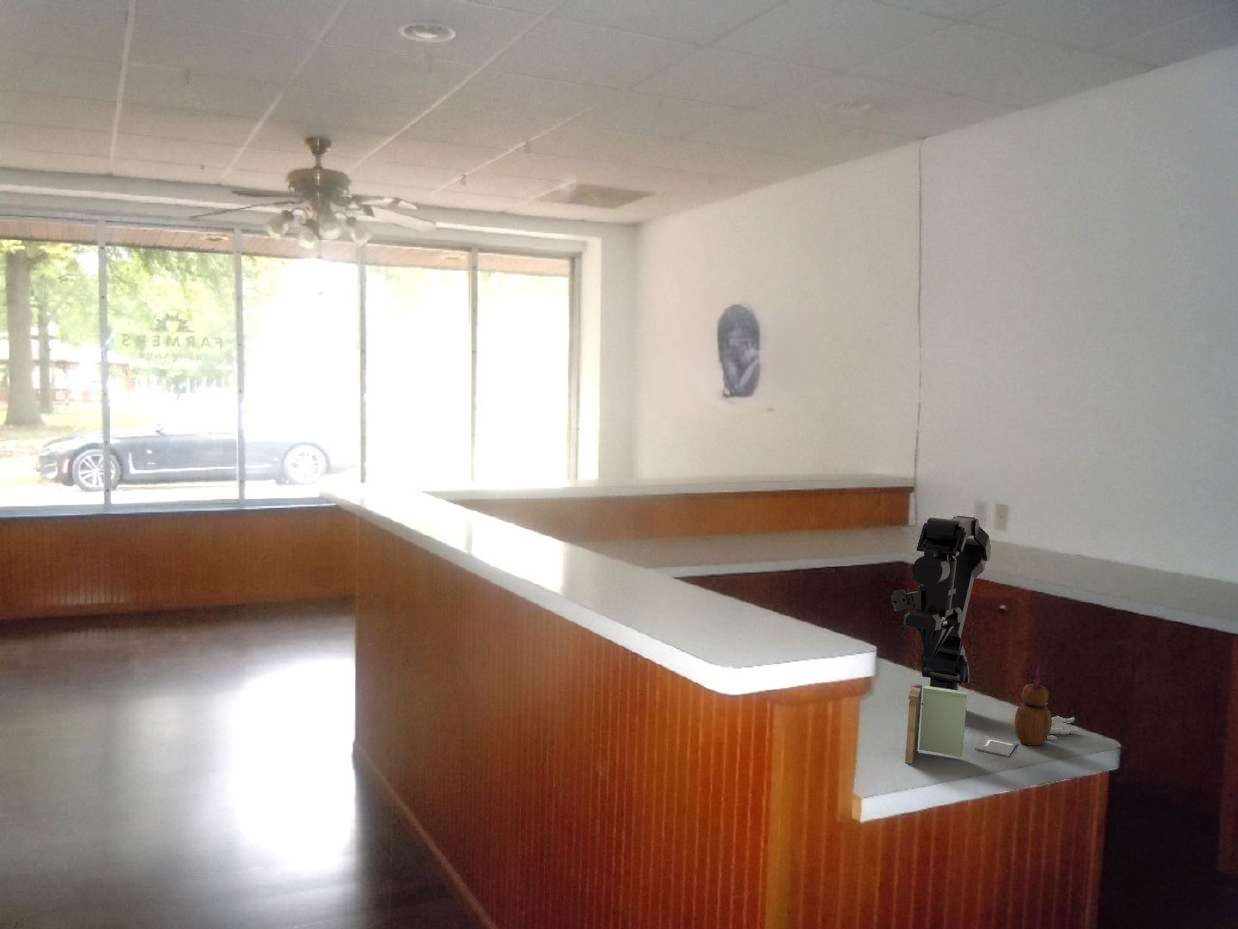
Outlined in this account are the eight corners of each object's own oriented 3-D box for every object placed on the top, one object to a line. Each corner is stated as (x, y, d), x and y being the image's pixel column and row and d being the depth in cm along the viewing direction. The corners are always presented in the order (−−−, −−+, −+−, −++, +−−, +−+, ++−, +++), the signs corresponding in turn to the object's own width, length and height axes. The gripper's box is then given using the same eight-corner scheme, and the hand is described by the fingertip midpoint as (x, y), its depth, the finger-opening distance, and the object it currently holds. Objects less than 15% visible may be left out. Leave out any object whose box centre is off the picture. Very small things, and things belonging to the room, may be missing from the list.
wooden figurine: (1026, 734, 197) (1032, 659, 195) (1054, 743, 192) (1061, 667, 191) (1007, 741, 192) (1014, 665, 191) (1036, 751, 188) (1043, 673, 186)
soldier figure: (1083, 745, 195) (1036, 730, 191) (1064, 755, 198) (1017, 740, 194) (1072, 709, 200) (1026, 694, 196) (1054, 719, 203) (1009, 704, 199)
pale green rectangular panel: (918, 750, 184) (923, 688, 183) (919, 747, 185) (924, 685, 184) (962, 757, 181) (966, 694, 180) (962, 754, 183) (967, 692, 182)
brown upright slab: (906, 748, 186) (911, 682, 185) (917, 750, 186) (922, 684, 185) (902, 762, 180) (907, 694, 178) (914, 764, 179) (919, 696, 178)
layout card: (983, 737, 194) (984, 735, 194) (1016, 744, 191) (1016, 742, 191) (975, 749, 187) (975, 747, 187) (1008, 757, 184) (1009, 755, 184)
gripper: (914, 571, 211) (905, 644, 212) (882, 577, 196) (873, 656, 197) (967, 581, 205) (958, 656, 206) (939, 588, 190) (929, 669, 190)
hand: (928, 659), depth 200 cm, fingers closed
